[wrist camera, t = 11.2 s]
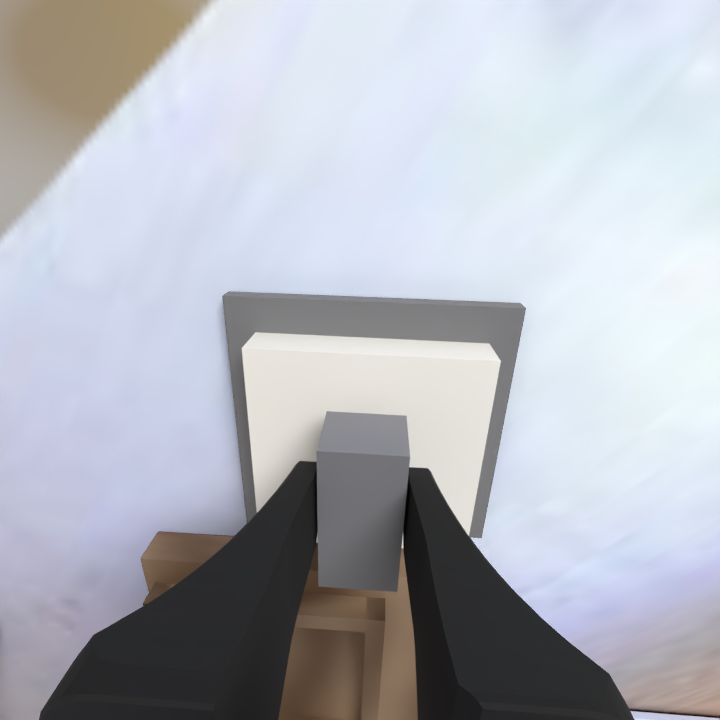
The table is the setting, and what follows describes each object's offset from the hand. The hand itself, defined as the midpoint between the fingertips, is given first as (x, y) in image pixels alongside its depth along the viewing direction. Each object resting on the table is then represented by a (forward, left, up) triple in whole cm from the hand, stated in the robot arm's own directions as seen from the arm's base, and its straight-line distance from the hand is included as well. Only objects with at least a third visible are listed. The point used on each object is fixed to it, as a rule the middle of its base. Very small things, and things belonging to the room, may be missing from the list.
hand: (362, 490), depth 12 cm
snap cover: (0, 0, -3) cm, 3 cm away
